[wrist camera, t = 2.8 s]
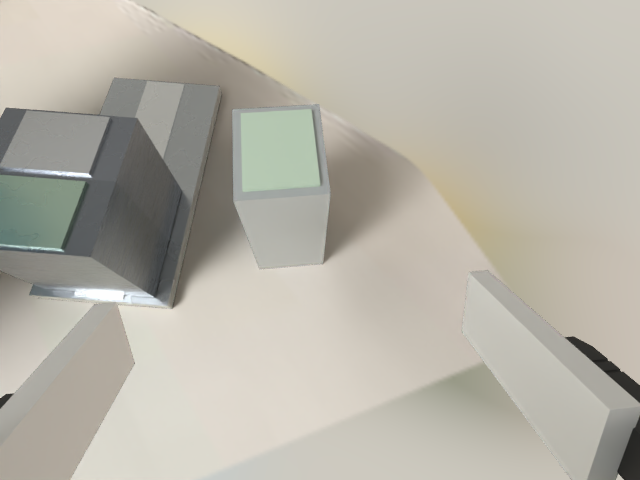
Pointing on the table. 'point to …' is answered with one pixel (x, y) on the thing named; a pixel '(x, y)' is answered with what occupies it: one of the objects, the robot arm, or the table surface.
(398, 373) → the table surface
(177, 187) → the grey l-shaped block
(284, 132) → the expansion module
